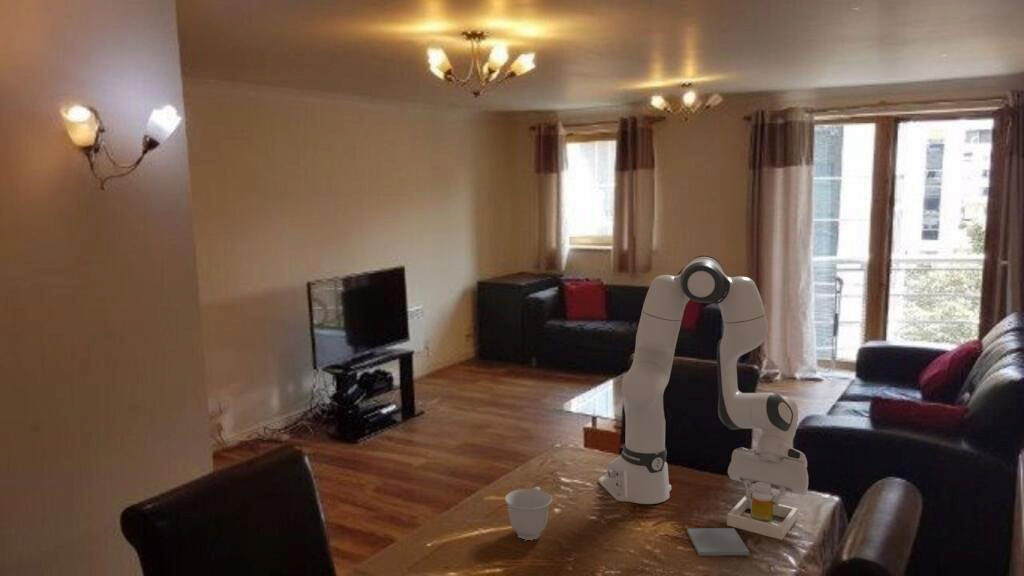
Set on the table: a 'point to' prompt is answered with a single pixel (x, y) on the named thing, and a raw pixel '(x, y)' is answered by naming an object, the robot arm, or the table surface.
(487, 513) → the table surface
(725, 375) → the robot arm
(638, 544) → the table surface
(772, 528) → the bin
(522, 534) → the teacup
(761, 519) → the supplement bottle
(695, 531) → the pad
